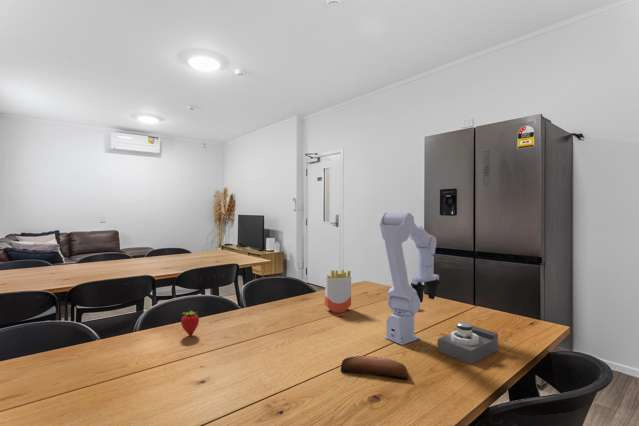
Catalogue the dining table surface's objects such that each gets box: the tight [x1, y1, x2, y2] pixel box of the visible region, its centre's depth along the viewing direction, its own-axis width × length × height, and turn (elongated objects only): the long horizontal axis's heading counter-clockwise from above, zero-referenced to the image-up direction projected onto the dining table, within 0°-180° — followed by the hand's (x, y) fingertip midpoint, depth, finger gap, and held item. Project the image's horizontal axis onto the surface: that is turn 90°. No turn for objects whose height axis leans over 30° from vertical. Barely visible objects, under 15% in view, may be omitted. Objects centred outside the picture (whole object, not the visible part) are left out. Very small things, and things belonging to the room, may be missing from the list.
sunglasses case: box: [340, 355, 408, 380], centre depth 94 cm, size 18×7×7 cm
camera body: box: [437, 325, 499, 365], centre depth 107 cm, size 16×11×6 cm
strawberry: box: [180, 309, 200, 337], centre depth 119 cm, size 6×8×10 cm
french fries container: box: [324, 269, 352, 313], centre depth 149 cm, size 5×11×18 cm, turn 106°
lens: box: [456, 321, 473, 339], centre depth 106 cm, size 4×4×5 cm
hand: (425, 300), depth 131 cm, fingers open, 7 cm apart
